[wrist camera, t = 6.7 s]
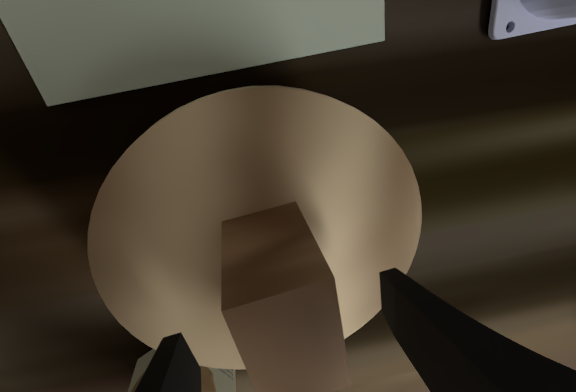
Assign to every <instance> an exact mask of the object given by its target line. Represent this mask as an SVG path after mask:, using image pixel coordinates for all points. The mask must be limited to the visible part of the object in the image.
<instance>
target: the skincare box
mask: <svg viewBox="0 0 576 392" xmlns="http://www.w3.org/2000/svg"><path fill="white" fill-rule="evenodd" d="M155 351H156V350H155V349H152V350H150V351H149V352H147V353H146V354H144V355H143V356H142V357H140V358H139V359H138V360H137V363H136V366H135V369H134V373H133V376H132V379H131V383H130V386H129V389H128V392H134V391H135V389H136V388H137V386H138V384H139V382H140V380H141V378H142V376H143V375H144V373H145V371H146V369H147V367H148V365H149V363H150V361H151V359H152V357H153V355H154V353H155ZM200 368H201V392H236V386H235V369H219V368H211V367H205V366H200Z"/></svg>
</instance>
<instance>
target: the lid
mask: <svg viewBox="0 0 576 392" xmlns="http://www.w3.org/2000/svg"><path fill="white" fill-rule="evenodd" d="M421 220H422V211H421V198H420V193H419V188H418V183H417V180H416V178H415V175H414V172H413V169H412V167H411V165H410V163H409V161H408V159H407V158H406V156H405V154H404V152H403V151H402V149H401V148H400V147H399V145H398V144H397V143H396V142H395V140H394V139H393V138H392V137H391V135H390V134H389V133H388V132H387V131H385V130H384V129H383V128H382V127H381V126H380V125H379V124H378V123H376V122H375V121H374V120H373V119H371V118H370V117H368V116H367V115H365V114H364V113H362V112H361V111H359V110H357V109H356V108H354V107H352V106H350V105H347V104H345V103H343V102H341V101H338V100H336V99H334V98H331V97H329V96H326V95H323V94H319V93H316V92H312V91H309V90H305V89H301V88H293V87H285V86H277V85H274V86H248V87H241V88H235V89H228V90H224V91H221V92H217V93H214V94H211V95H207V96H204V97H201V98H199V99H197V100H194V101H192V102H190V103H188V104H186V105H184V106H182V107H179V108H177V109H176V110H174V111H173V112H171V113H170V114H168V115H167V116H165V117H163V118H162V119H160V120H159V121H157V122H156V123H155V124H153V125H152V126H151V127H150V128H149V129H148V130H147V131H146V132H145V133H143V134H142V135H141V136H140V137H139V138H138V139H137V140H136V141H135V142H134V143H133V144H132V145H130V146H129V147H128V149H127V150H126V151H125V152H124V154H123V155H122V156H121V157H120V158H119V160H118V161H117V162H116V163H115V165H114V166H113V167H112V169H111V170H110V172H109V174H108V175H107V177H106V179H105V181H104V182H103V184H102V186H101V188H100V190H99V192H98V195H97V198H96V200H95V203H94V206H93V208H92V211H91V217H90V222H89V228H88V258H89V264H90V269H91V274H92V277H93V280H94V282H95V285H96V288H97V290H98V293H99V294H100V296H101V298H102V300H103V301H104V303H105V305H106V307H107V308H108V310H109V311H110V312H111V313H112V315H113V316H114V317H115V318H116V319H117V321H118V322H119V323H120V324H121V325H122V326H123V327H124V328H125V329H126V330H128V331H129V332H130V333H131V334H132V335H133V336H134V337H136V338H137V339H139V340H140V341H142V342H143V343H144V344H146V345H147V346H149V347H151V348H153V349H155V350H157V348H158V346H159V344H160V342H161V340H162V339H163V338H164V337H167V336H170V335H173V334H177V333H180V332H181V333H182V335H183V337H184V339H185V340H186V342H187V344H188V346H189V348H190V349H191V351H192V353H193V355H194V357H195V359H196V360H197V362H198V364H199V366H205V367H211V368H219V369H246V370H247V373H248V375H249V377H250V380H251V382H252V384H253V387H254V389H255V391H256V392H337V391H340V390H343V389H346V388H349V387H352V385H351V379H350V372H349V366H348V360H347V353H346V347H345V341H344V339H345V338H347V337H348V336H350V335H351V334H352V333H354V332H355V331H357V330H358V329H360V328H361V327H362V326H363V325H364V324H366V323H367V322H368V321H369V320H370V319H372V318H373V317H374V316H375V315H376V314H377V313H378V312H379V311H380V310H381V292H380V276H379V272H382V271H385V270H388V269H392V268H397V269H398V270H400V271H401V272H403V273H404V274H405V275H406V273H407V272H408V270H409V268H410V266H411V263H412V260H413V258H414V255H415V252H416V249H417V245H418V241H419V237H420V230H421Z"/></svg>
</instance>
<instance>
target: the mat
mask: <svg viewBox="0 0 576 392" xmlns="http://www.w3.org/2000/svg"><path fill="white" fill-rule="evenodd" d="M0 19H1V20H2V22H3V24H4V26H5V28H6V30H7V32H8V34H9V35H10V37H11V39H12V41H13V43H14V45H15V47H16V49H17V50H18V52H19V54H20V56H21V58H22V60H23V62H24V64H25V65H26V67H27V69H28V71H29V73H30V75H31V77H32V78H33V80H34V82H35V84H36V86H37V88H38V90H39V92H40V93H41V95H42V97H43V99H44V101H45V103H46V105H47V106H52V105H57V104H62V103H68V102H73V101H78V100H83V99H88V98H93V97H98V96H103V95H109V94H114V93H119V92H124V91H129V90H134V89H139V88H144V87H150V86H155V85H160V84H165V83H170V82H175V81H180V80H186V79H191V78H196V77H201V76H206V75H211V74H216V73H221V72H227V71H232V70H237V69H242V68H247V67H252V66H257V65H262V64H268V63H273V62H278V61H283V60H288V59H293V58H298V57H303V56H309V55H314V54H319V53H324V52H329V51H334V50H339V49H344V48H350V47H355V46H360V45H365V44H370V43H375V42H380V41H385V24H384V0H0Z"/></svg>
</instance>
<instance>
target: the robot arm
mask: <svg viewBox="0 0 576 392" xmlns="http://www.w3.org/2000/svg"><path fill="white" fill-rule="evenodd" d="M507 24H508V29H507V31H506V26H507ZM573 24H576V0H492V5H491V13H490V21H489V28H488V35H489V37H490V38H491V39H492V40H497V39H504V38H509V37H514V36H519V35H524V34H528V33H533V32H538V31H543V30H548V29H553V28H558V27H563V26H568V25H573ZM379 276H380V292H381V309H382V313H383V315H384V317H385V319H386V321H387V323H388V325H389V327H390V329H391V331H392V332H393V334H394V336H395V338H396V340H397V341H398V343H399V344H400V346H401V347H402V349H403V351H404V352H405V354H406V355H407V357H408V358H409V360H410V361H411V363H412V364H413V366H414V367H415V369H416V370H417V372H418V373H419V375H420V376H421V378H422V379H423V381H424V382H425V384H426V385H427V387H428V388H429V390H430V391H431V392H576V370H573V369H571V368H569V367H567V366H564V365H562V364H560V363H557V362H555V361H553V360H551V359H548V358H546V357H544V356H542V355H540V354H538V353H536V352H534V351H532V350H530V349H528V348H526V347H524V346H522V345H520V344H518V343H516V342H514V341H512V340H510V339H508V338H506V337H504V336H503V335H501V334H499V333H497V332H495V331H493V330H492V329H490V328H488V327H486V326H485V325H483V324H481V323H479V322H478V321H476V320H474V319H473V318H471V317H469V316H468V315H466V314H464V313H463V312H461V311H459V310H458V309H456V308H455V307H453V306H452V305H450V304H448V303H447V302H445V301H444V300H442V299H441V298H439V297H438V296H436V295H435V294H433V293H432V292H430V291H429V290H427V289H426V288H424V287H423V286H421V285H420V284H418V283H417V282H415V281H414V280H413V279H411V278H410V277H408V276H407V275H405V274H404V273H403V272H401V271H400V270H398V269H397V268H392V269H388V270H385V271H382V272H379ZM134 392H201V368H200V366H199V364H198V362H197V360H196V359H195V357H194V355H193V353H192V351H191V349H190V348H189V346H188V344H187V342H186V340H185V339H184V337H183V335H182V333H181V332H180V333H177V334H173V335H170V336H167V337H164V338H163V339H162V340H161V342H160V344H159V346H158V348H157V350H156V351H155V353H154V355H153V357H152V359H151V361H150V363H149V365H148V367H147V369H146V371H145V373H144V375H143V376H142V378H141V380H140V382H139V384H138V386H137V388H136V389H135V391H134Z"/></svg>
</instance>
